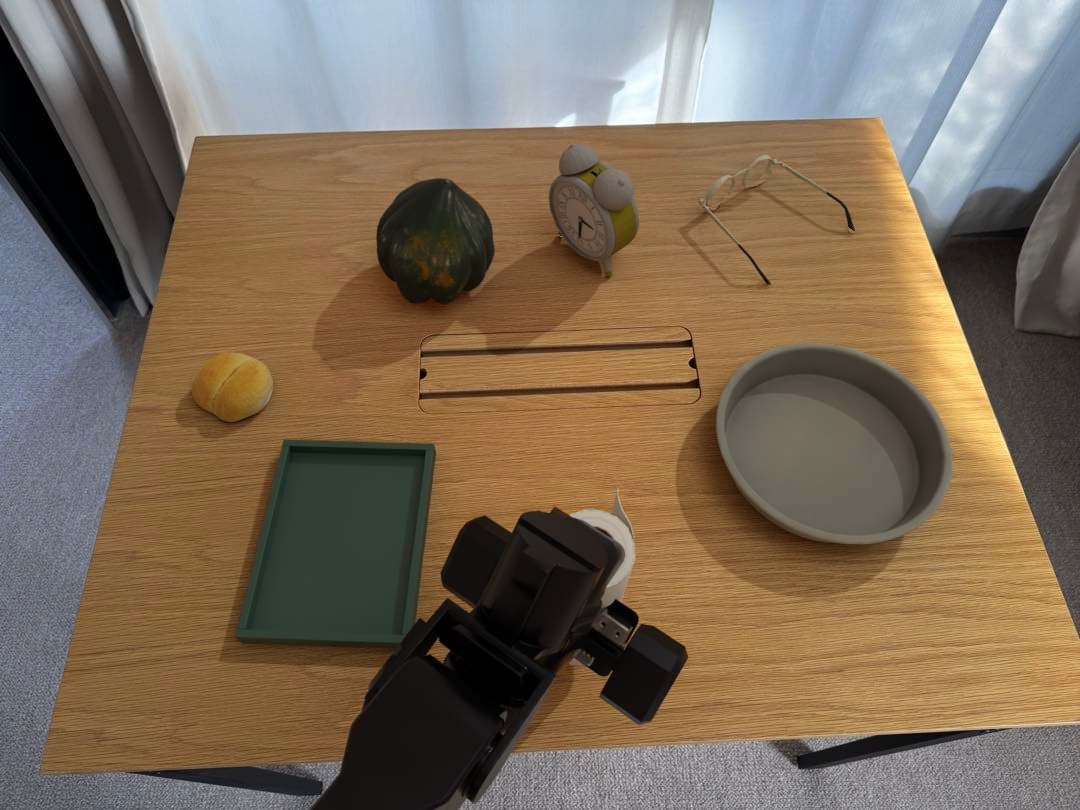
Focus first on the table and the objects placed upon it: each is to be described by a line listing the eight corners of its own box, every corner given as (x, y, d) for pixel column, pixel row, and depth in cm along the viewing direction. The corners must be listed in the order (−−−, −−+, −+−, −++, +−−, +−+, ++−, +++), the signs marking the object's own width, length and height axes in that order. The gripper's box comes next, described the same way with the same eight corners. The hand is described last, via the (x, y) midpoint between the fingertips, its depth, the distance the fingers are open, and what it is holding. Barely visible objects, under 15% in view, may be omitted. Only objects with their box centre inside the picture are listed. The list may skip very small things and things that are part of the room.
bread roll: (244, 434, 87) (232, 416, 83) (185, 401, 89) (171, 382, 86) (291, 382, 91) (282, 362, 87) (234, 351, 93) (222, 331, 90)
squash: (344, 286, 91) (414, 217, 82) (368, 202, 100) (434, 130, 90) (441, 341, 99) (516, 284, 89) (455, 258, 107) (525, 197, 98)
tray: (412, 648, 74) (408, 643, 72) (241, 642, 74) (234, 637, 73) (436, 452, 86) (434, 443, 84) (288, 448, 86) (283, 439, 84)
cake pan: (965, 557, 79) (986, 540, 75) (725, 561, 79) (735, 545, 75) (901, 362, 92) (916, 339, 88) (696, 365, 92) (702, 342, 88)
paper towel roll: (566, 679, 69) (580, 605, 51) (531, 622, 72) (534, 532, 54) (631, 638, 72) (667, 553, 53) (595, 584, 74) (618, 485, 56)
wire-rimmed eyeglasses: (776, 170, 110) (786, 141, 106) (857, 232, 103) (871, 204, 99) (687, 219, 105) (693, 191, 100) (766, 289, 98) (776, 262, 94)
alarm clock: (546, 237, 103) (546, 146, 90) (583, 213, 105) (588, 121, 93) (606, 287, 98) (615, 198, 85) (643, 261, 101) (658, 170, 88)
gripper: (700, 641, 45) (743, 562, 59) (448, 477, 50) (543, 441, 65) (617, 781, 48) (677, 674, 62) (389, 612, 53) (491, 549, 68)
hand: (595, 580), depth 64 cm, fingers closed on paper towel roll, 3 cm apart
